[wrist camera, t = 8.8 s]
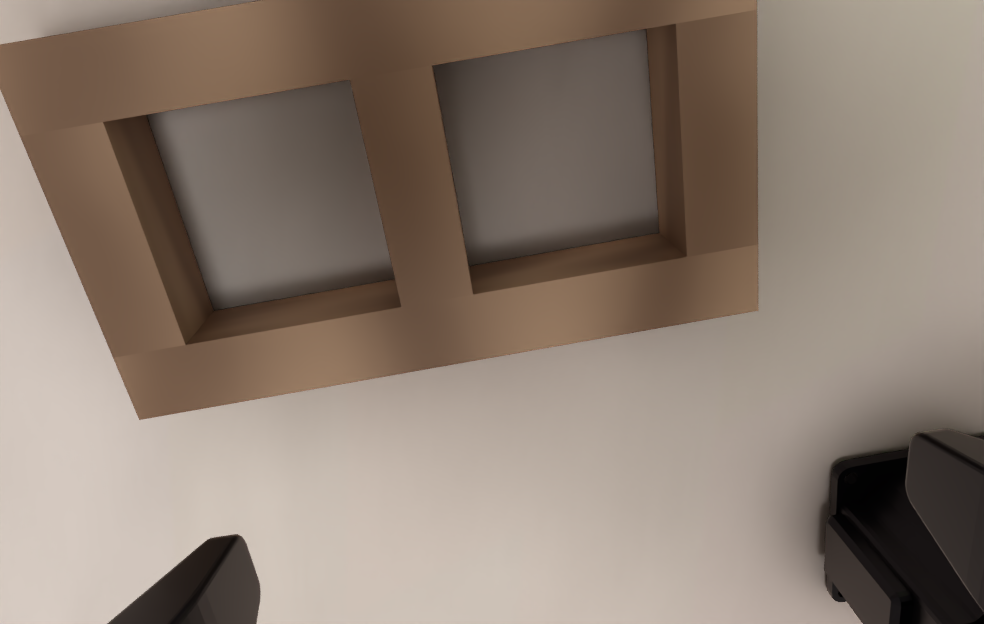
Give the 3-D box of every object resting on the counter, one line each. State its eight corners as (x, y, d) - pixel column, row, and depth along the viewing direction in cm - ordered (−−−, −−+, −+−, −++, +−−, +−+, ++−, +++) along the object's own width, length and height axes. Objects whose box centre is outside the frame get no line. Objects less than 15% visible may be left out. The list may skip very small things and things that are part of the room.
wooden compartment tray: (715, -69, 18) (756, -84, 16) (723, 281, 22) (758, 310, 19) (42, 46, 18) (-17, 47, 15) (171, 378, 21) (139, 419, 19)
